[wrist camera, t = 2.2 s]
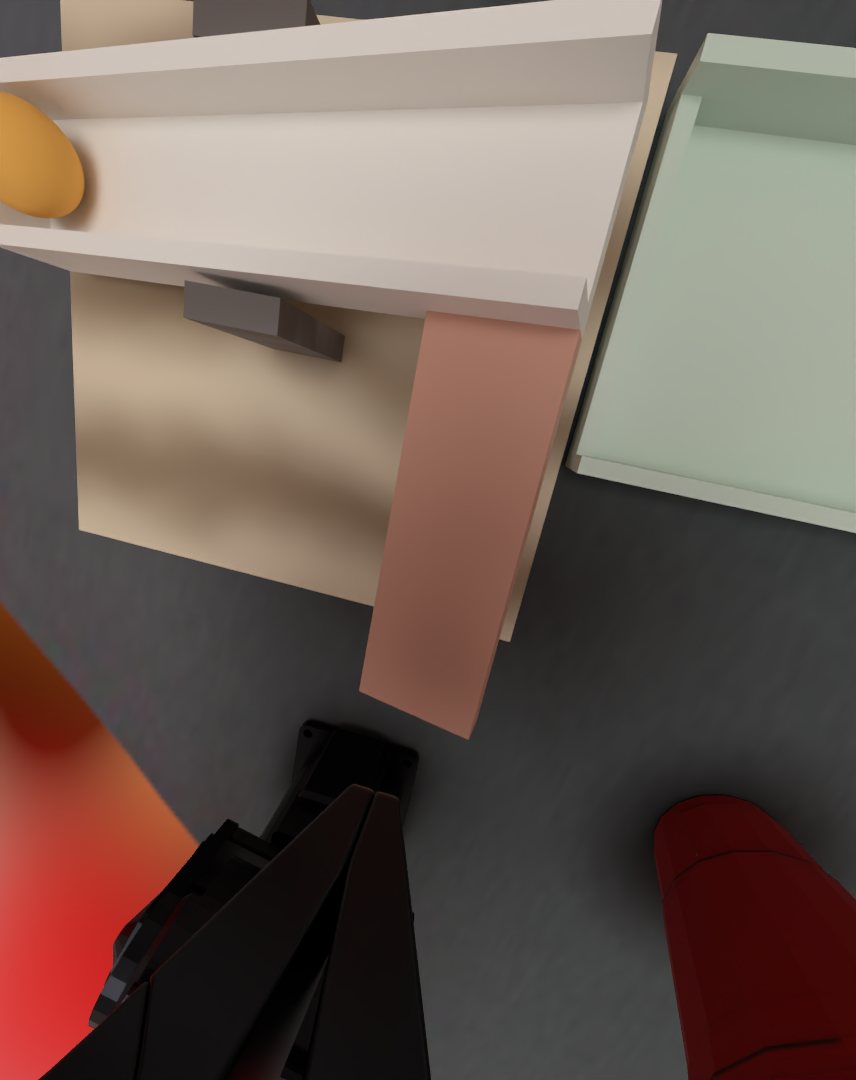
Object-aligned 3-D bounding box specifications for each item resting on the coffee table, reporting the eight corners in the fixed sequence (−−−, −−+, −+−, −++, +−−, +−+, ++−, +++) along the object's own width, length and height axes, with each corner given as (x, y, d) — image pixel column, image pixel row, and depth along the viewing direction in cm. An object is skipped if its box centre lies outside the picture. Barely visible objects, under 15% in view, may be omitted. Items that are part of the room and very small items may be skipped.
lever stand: (509, 633, 20) (512, 716, 14) (93, 526, 22) (-48, 559, 17) (667, 74, 14) (783, -171, 8) (80, 7, 16) (-146, -219, 11)
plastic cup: (667, 707, 20) (901, 1101, 8) (894, 811, 19) (1491, 1392, 8) (556, 862, 23) (612, 1301, 11) (748, 955, 22) (1011, 1516, 11)
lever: (476, 721, 14) (452, 775, 12) (81, 551, 20) (13, 564, 18) (647, 102, 10) (663, -12, 7) (66, 119, 16) (-29, 60, 13)
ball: (106, 237, 15) (-7, 188, 12) (52, 232, 16) (-64, 187, 13) (105, 132, 14) (-17, 55, 11) (47, 134, 15) (-77, 63, 12)
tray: (934, 545, 16) (1076, 583, 12) (564, 465, 18) (583, 476, 14) (1144, 170, 13) (1438, 53, 9) (666, 112, 14) (731, -12, 10)
